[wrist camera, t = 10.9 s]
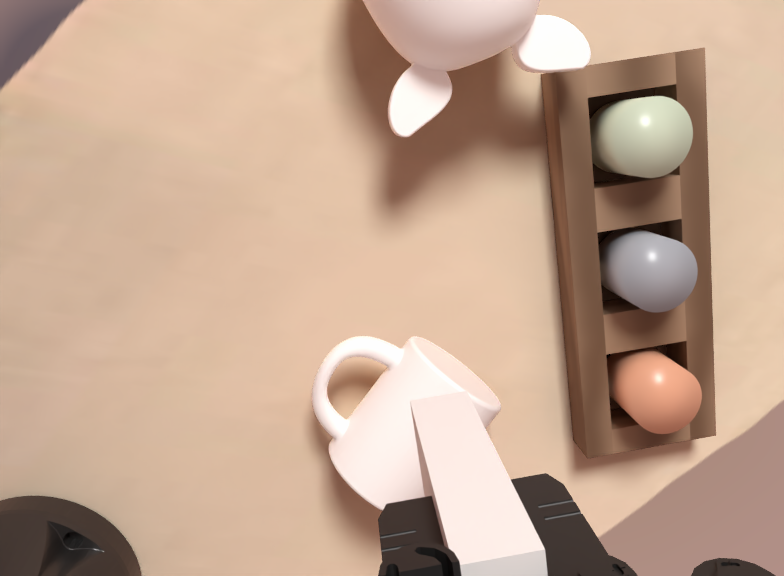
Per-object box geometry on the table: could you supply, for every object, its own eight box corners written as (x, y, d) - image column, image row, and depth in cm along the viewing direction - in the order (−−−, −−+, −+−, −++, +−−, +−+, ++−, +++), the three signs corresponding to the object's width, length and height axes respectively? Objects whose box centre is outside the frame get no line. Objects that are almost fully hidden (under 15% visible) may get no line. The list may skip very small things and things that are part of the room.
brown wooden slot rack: (573, 440, 51) (587, 458, 48) (541, 74, 44) (555, 70, 41) (694, 418, 52) (715, 435, 49) (681, 53, 45) (704, 47, 42)
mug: (488, 379, 50) (515, 425, 42) (410, 476, 51) (423, 538, 43) (361, 292, 47) (366, 323, 39) (284, 396, 49) (273, 446, 41)
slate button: (596, 298, 48) (626, 318, 43) (591, 233, 47) (622, 245, 42) (661, 287, 48) (698, 305, 43) (658, 222, 47) (696, 232, 42)
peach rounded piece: (604, 408, 50) (634, 439, 45) (600, 348, 49) (629, 373, 44) (666, 397, 50) (702, 427, 45) (663, 337, 49) (700, 361, 44)
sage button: (587, 178, 46) (618, 183, 41) (581, 105, 45) (612, 102, 40) (655, 167, 46) (694, 171, 41) (651, 95, 45) (691, 90, 40)
